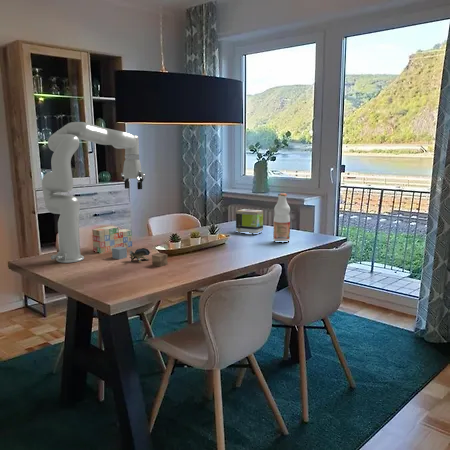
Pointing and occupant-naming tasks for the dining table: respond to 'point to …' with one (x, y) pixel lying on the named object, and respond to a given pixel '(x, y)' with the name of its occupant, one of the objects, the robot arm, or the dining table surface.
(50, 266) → the dining table surface
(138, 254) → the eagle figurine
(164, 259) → the walnut block
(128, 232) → the stack of blocks
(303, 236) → the dining table surface
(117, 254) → the slate grey block
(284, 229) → the fruit juice
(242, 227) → the tea box
